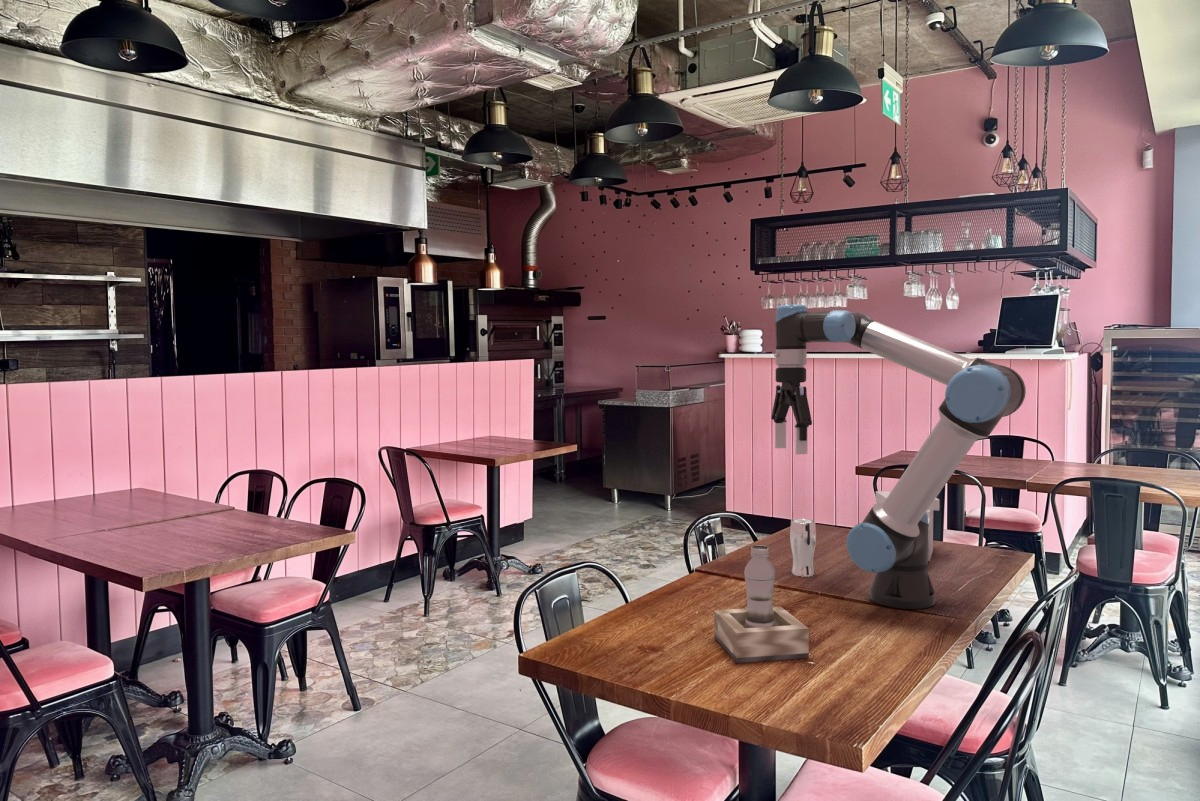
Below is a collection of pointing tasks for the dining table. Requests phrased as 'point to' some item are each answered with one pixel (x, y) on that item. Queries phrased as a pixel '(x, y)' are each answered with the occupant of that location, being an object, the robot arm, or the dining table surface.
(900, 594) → the robot arm
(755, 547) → the plastic bottle
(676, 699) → the dining table surface
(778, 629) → the bottle holder
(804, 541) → the beer glass
